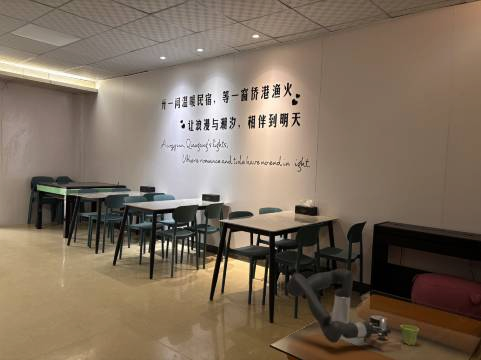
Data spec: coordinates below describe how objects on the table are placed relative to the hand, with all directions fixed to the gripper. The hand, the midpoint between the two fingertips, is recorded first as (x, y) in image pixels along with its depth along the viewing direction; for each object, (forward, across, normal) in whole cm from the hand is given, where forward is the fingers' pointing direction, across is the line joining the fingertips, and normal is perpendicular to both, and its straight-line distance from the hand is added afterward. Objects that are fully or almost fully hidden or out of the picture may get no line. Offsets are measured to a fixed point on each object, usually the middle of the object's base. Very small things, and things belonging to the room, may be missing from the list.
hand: (384, 328), depth 199 cm
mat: (-12, -9, -9) cm, 17 cm away
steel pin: (-1, 0, -9) cm, 9 cm away
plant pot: (+19, 0, -10) cm, 22 cm away
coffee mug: (+11, -15, -10) cm, 21 cm away
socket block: (-1, 0, -9) cm, 9 cm away
